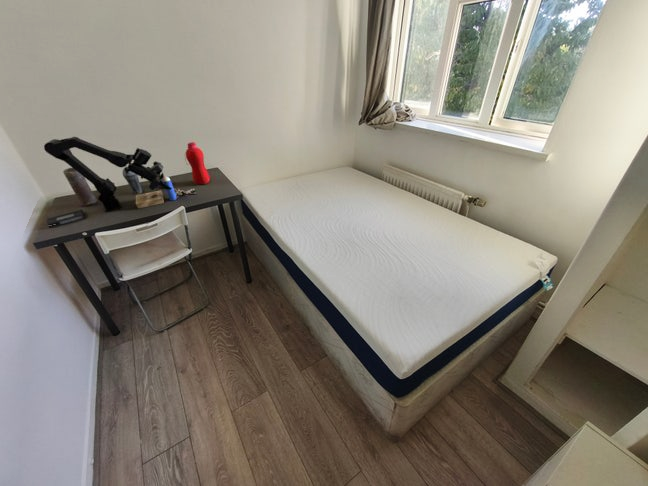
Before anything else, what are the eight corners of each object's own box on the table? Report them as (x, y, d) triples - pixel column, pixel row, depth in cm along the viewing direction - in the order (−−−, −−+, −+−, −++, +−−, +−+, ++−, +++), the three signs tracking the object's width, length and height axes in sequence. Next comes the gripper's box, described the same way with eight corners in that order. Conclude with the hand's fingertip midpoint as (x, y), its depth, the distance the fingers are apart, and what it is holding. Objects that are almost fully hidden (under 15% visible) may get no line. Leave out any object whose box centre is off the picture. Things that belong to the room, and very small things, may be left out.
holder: (138, 208, 149) (135, 203, 147) (138, 199, 157) (136, 195, 156) (164, 202, 154) (162, 198, 152) (163, 194, 162) (161, 190, 161)
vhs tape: (84, 218, 141) (82, 214, 140) (49, 228, 134) (47, 224, 133) (83, 212, 146) (81, 209, 145) (49, 222, 139) (47, 218, 137)
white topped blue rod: (169, 201, 156) (161, 178, 148) (169, 198, 158) (160, 176, 151) (177, 199, 157) (169, 177, 149) (176, 196, 160) (168, 174, 152)
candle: (96, 199, 159) (78, 166, 147) (99, 203, 154) (80, 169, 143) (80, 203, 154) (60, 169, 142) (83, 208, 150) (62, 173, 138)
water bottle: (194, 180, 180) (182, 141, 165) (211, 179, 181) (200, 140, 166) (190, 185, 172) (177, 145, 158) (208, 184, 173) (196, 144, 158)
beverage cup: (133, 196, 161) (117, 163, 150) (130, 192, 166) (114, 159, 154) (146, 192, 165) (132, 160, 153) (143, 188, 170) (129, 156, 158)
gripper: (147, 164, 136) (178, 182, 145) (151, 153, 150) (180, 170, 159) (135, 182, 138) (167, 198, 148) (141, 169, 152) (170, 184, 162)
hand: (171, 187), depth 154 cm, fingers open, 5 cm apart
